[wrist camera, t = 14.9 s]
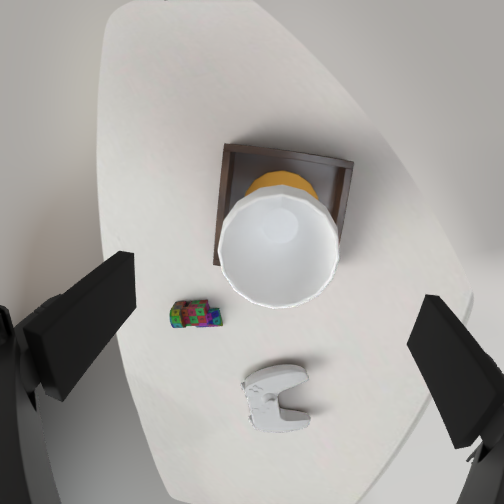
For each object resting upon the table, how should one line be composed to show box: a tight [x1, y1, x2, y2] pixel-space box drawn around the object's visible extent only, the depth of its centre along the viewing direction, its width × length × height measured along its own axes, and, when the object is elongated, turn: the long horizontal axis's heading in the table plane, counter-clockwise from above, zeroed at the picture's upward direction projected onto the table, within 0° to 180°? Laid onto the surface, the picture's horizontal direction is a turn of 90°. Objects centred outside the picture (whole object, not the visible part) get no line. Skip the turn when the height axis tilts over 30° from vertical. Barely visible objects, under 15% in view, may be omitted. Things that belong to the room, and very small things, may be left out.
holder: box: [213, 143, 354, 266], centre depth 35 cm, size 14×14×4 cm
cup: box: [218, 170, 340, 309], centre depth 29 cm, size 9×9×16 cm
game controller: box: [241, 365, 311, 432], centre depth 44 cm, size 14×4×10 cm
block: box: [170, 300, 223, 328], centre depth 41 cm, size 6×4×3 cm
